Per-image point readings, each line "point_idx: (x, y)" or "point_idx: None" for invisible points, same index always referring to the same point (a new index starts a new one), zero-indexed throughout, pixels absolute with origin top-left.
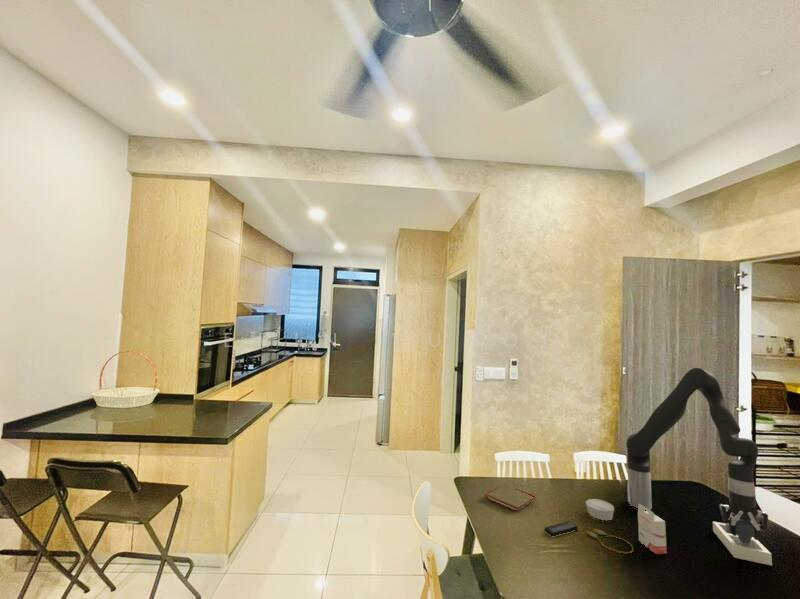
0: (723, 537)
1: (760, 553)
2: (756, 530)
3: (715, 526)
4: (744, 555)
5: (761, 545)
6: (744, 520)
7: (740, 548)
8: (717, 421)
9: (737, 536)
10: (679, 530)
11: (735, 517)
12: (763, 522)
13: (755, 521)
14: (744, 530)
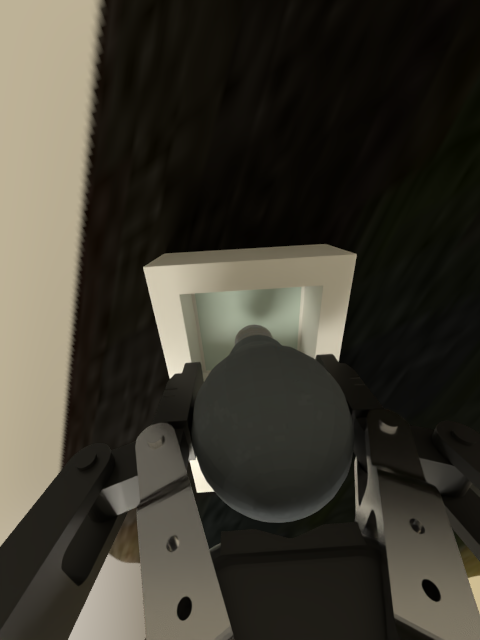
0: None
1: (206, 260)
2: (176, 420)
3: None
4: (285, 250)
5: (173, 357)
6: (267, 516)
7: (315, 255)
8: None
9: None
10: (448, 390)
11: (449, 528)
12: (39, 559)
13: (151, 540)
14: (297, 368)
